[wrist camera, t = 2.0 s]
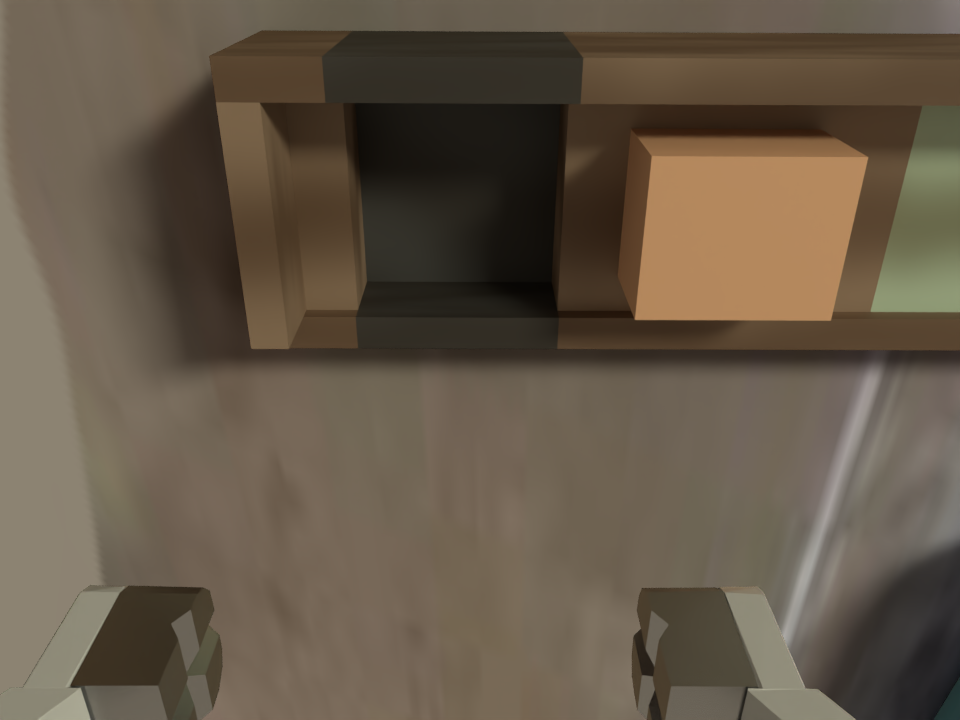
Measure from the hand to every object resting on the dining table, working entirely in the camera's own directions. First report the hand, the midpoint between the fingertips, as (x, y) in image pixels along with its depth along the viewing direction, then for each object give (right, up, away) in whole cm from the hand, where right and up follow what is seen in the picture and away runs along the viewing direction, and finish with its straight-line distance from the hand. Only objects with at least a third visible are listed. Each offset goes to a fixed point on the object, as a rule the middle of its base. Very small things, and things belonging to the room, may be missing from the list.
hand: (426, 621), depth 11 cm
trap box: (+13, +10, +19) cm, 25 cm away
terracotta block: (+8, +8, +16) cm, 20 cm away
